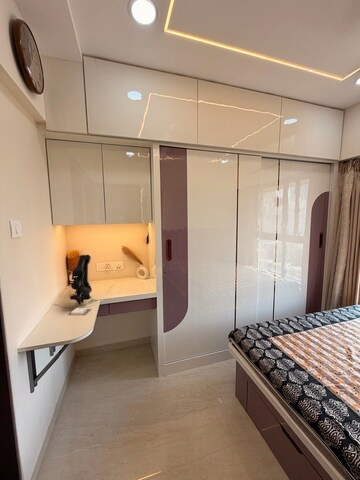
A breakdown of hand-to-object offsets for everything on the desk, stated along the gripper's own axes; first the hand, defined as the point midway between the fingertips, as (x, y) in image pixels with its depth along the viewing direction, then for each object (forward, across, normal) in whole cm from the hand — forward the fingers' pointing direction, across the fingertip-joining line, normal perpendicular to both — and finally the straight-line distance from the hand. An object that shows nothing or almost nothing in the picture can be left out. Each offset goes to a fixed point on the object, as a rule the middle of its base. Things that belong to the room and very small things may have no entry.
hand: (81, 303), depth 165 cm
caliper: (+2, +3, 0) cm, 4 cm away
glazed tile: (+2, -7, -4) cm, 8 cm away
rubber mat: (+3, -10, -4) cm, 11 cm away
